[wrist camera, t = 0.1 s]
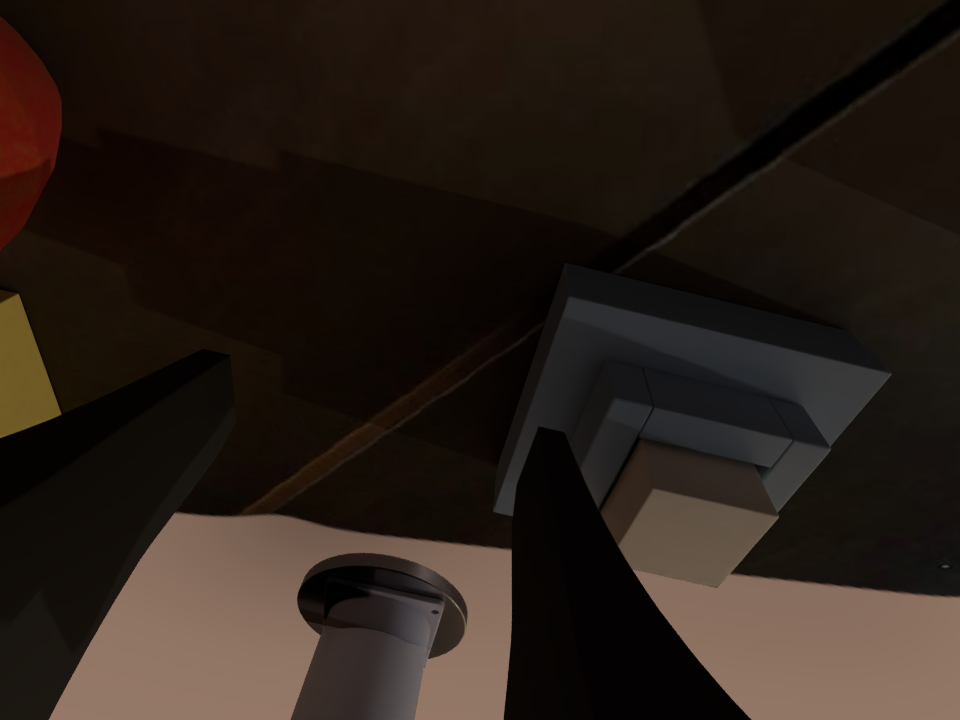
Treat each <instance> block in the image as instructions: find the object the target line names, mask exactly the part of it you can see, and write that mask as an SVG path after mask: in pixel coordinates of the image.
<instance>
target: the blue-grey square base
mask: <svg viewBox="0 0 960 720" xmlns="http://www.w3.org/2000/svg"><path fill="white" fill-rule="evenodd" d="M890 376H891V372H890V371H889V370H888V369H887V368H886V367H885V366H884V365H883V364H882V363H881V362H880V361H879V360H878V359H877V358H876V357H875V356H874V355H873V354H872V353H871V352H870V351H869V350H868V349H867V348H866V347H865V346H864V345H863V344H862V343H861V342H860V341H859V340H858V339H857V338H856V337H855V336H854V335H853V334H852V333H851V332H850V331H846V330H842V329H837V328H833V327H829V326H825V325H821V324H817V323H813V322H809V321H804V320H800V319H796V318H792V317H788V316H784V315H780V314H776V313H771V312H767V311H763V310H759V309H755V308H751V307H747V306H742V305H738V304H734V303H730V302H726V301H722V300H718V299H714V298H709V297H705V296H701V295H697V294H693V293H689V292H685V291H681V290H676V289H672V288H668V287H664V286H660V285H656V284H652V283H647V282H643V281H639V280H635V279H631V278H627V277H623V276H619V275H614V274H610V273H606V272H602V271H598V270H594V269H590V268H585V267H581V266H577V265H573V264H569V263H565V265H564V268H563V271H562V274H561V277H560V280H559V283H558V286H557V289H556V292H555V295H554V298H553V301H552V304H551V307H550V310H549V313H548V316H547V319H546V322H545V325H544V328H543V331H542V334H541V337H540V340H539V343H538V346H537V349H536V352H535V355H534V358H533V361H532V364H531V367H530V370H529V373H528V376H527V379H526V382H525V385H524V388H523V391H522V394H521V397H520V400H519V403H518V406H517V409H516V412H515V415H514V418H513V421H512V424H511V427H510V430H509V433H508V436H507V439H506V442H505V445H504V448H503V451H502V454H501V457H500V460H499V463H498V466H497V474H496V484H495V494H494V504H493V512H497V513H502V514H506V515H511V516H513V510H514V501H515V493H516V485H517V482H518V480H519V477H520V474H521V472H522V469H523V466H524V464H525V461H526V458H527V456H528V453H529V450H530V448H531V445H532V442H533V440H534V437H535V435H536V432H537V429H538V427H539V426H540V427H544V428H549V429H553V430H557V431H562V432H564V433H565V434H566V436H567V438H568V440H569V443H570V446H571V448H572V451H573V453H574V456H575V458H576V461H577V463H578V465H579V468H580V470H581V472H582V475H583V477H584V479H585V481H586V484H587V486H588V488H589V490H590V492H591V494H592V496H593V499H594V501H595V503H596V505H597V507H598V509H599V511H600V513H601V510H602V508H603V506H604V504H605V503H606V501H607V499H608V497H609V495H610V493H611V491H612V490H613V488H614V486H615V484H616V482H617V480H618V479H619V477H620V475H621V473H622V471H623V469H624V468H625V466H626V464H627V462H628V460H629V458H630V457H631V455H632V453H633V451H634V449H635V447H636V446H637V444H638V442H639V440H640V438H644V439H649V440H653V441H657V442H662V443H666V444H671V445H675V446H679V447H684V448H688V449H692V450H697V451H701V452H705V453H710V454H714V455H718V456H723V457H727V458H731V459H736V460H740V461H744V462H749V463H753V464H754V465H755V467H756V469H757V472H758V474H759V476H760V478H761V480H762V482H763V484H764V486H765V488H766V490H767V493H768V495H769V497H770V499H771V501H772V503H773V505H774V507H775V509H776V511H777V512H778V511H779V510H780V509H781V508H782V506H783V505H784V504H785V503H786V502H787V501H788V499H789V498H790V497H791V496H792V495H793V494H794V493H795V491H796V490H797V489H798V488H799V487H800V486H801V484H802V483H803V482H804V481H805V480H806V479H807V477H808V476H809V475H810V474H811V473H812V472H813V470H814V469H815V468H816V467H817V466H818V465H819V463H820V462H821V461H822V460H823V459H824V458H825V456H826V455H827V454H828V453H829V452H830V451H831V447H830V446H831V445H832V444H833V442H834V441H835V440H836V439H837V438H838V436H839V435H840V434H841V433H842V432H843V431H844V429H845V428H846V427H847V426H848V425H849V424H850V422H851V421H852V420H853V419H854V418H855V417H856V415H857V414H858V413H859V412H860V411H861V410H862V408H863V407H864V406H865V405H866V404H867V403H868V401H869V400H870V399H871V398H872V397H873V395H874V394H875V393H876V392H877V391H878V390H879V388H880V387H881V386H882V385H883V384H884V383H885V381H886V380H887V379H888V378H889V377H890Z"/></svg>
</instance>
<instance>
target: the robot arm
mask: <svg viewBox="0 0 960 720" xmlns="http://www.w3.org/2000/svg"><path fill="white" fill-rule="evenodd" d="M235 423H236V416H235V404H234V393H233V382H232V371H231V360H230V355H227V354H223V353H219V352H214V351H210V350H206V349H202V350H200V351H198V352H196V353H193V354H191V355H189V356H187V357H185V358H183V359H181V360H178V361H176V362H174V363H172V364H170V365H168V366H166V367H164V368H162V369H160V370H158V371H156V372H154V373H152V374H150V375H148V376H146V377H143V378H141V379H139V380H137V381H135V382H133V383H131V384H129V385H127V386H125V387H122V388H120V389H118V390H116V391H114V392H112V393H110V394H108V395H105V396H103V397H101V398H98V399H96V400H94V401H92V402H89V403H87V404H85V405H82V406H80V407H78V408H75V409H73V410H71V411H68V412H66V413H64V414H61V415H59V416H57V417H55V418H52V419H50V420H47V421H45V422H42V423H40V424H37V425H34V426H32V427H29V428H26V429H24V430H21V431H18V432H16V433H13V434H10V435H7V436H4V437H2V438H0V720H49V718H50V716H51V714H52V712H53V710H54V708H55V706H56V704H57V702H58V701H59V699H60V697H61V695H62V693H63V691H64V690H65V688H66V686H67V684H68V682H69V680H70V678H71V677H72V675H73V673H74V671H75V669H76V668H77V666H78V664H79V662H80V660H81V658H82V656H83V655H84V653H85V651H86V649H87V647H88V646H89V644H90V642H91V640H92V639H93V637H94V635H95V634H96V632H97V630H98V628H99V627H100V625H101V623H102V622H103V620H104V618H105V616H106V615H107V613H108V611H109V610H110V608H111V606H112V604H113V603H114V601H115V599H116V598H117V596H118V595H119V593H120V591H121V590H122V588H123V586H124V585H125V583H126V582H127V580H128V578H129V577H130V575H131V573H132V572H133V570H134V569H135V567H136V565H137V564H138V562H139V561H140V559H141V558H142V556H143V555H144V553H145V552H146V550H147V549H148V548H149V546H150V545H151V543H152V542H153V541H154V539H155V538H156V536H157V535H158V534H159V533H160V531H161V530H162V529H163V527H164V526H165V525H166V523H167V522H168V521H169V519H170V518H171V517H172V515H173V514H174V513H175V512H176V510H177V509H178V508H179V506H180V505H181V504H182V502H183V501H184V500H185V498H186V497H187V496H188V495H189V493H190V492H191V491H192V489H193V488H194V487H195V485H196V484H197V483H198V481H199V480H200V479H201V477H202V476H203V475H204V473H205V472H206V471H207V469H208V468H209V467H210V465H211V464H212V462H213V461H214V460H215V458H216V456H217V455H218V453H219V451H220V450H221V448H222V446H223V444H224V443H225V441H226V439H227V437H228V435H229V434H230V432H231V430H232V428H233V426H234V424H235ZM443 609H444V602H443V601H442V600H440V599H436V598H431V597H427V596H422V595H417V594H413V593H408V592H403V591H399V590H394V589H389V588H385V587H380V586H375V585H371V584H366V583H362V582H357V581H352V580H348V579H343V578H338V577H329V578H328V579H327V581H326V584H325V599H324V615H323V631H322V633H321V636H320V639H319V642H318V645H317V647H316V650H315V653H314V656H313V659H312V661H311V664H310V667H309V670H308V673H307V675H306V678H305V681H304V684H303V687H302V689H301V692H300V695H299V698H298V700H297V703H296V706H295V709H294V712H293V715H292V718H291V720H414V718H415V712H416V707H417V701H418V696H419V690H420V685H421V679H422V674H423V669H424V668H425V665H426V662H427V659H428V656H429V653H430V650H431V647H432V644H433V641H434V637H435V634H436V631H437V628H438V625H439V622H440V619H441V616H442V612H443ZM504 720H751V719H750V718H749V717H748V716H747V715H746V714H745V713H744V711H743V710H742V709H741V708H740V707H739V706H738V705H737V704H736V703H735V702H734V701H733V700H732V699H731V698H730V696H729V695H728V694H727V693H726V692H725V691H724V690H723V689H722V687H721V686H720V685H719V684H718V683H717V682H716V680H715V679H714V678H713V677H712V676H711V675H710V673H709V672H708V671H707V670H706V669H705V668H704V666H703V665H702V664H701V663H700V662H699V661H698V659H697V658H696V657H695V656H694V654H693V653H692V652H691V651H690V649H689V648H688V647H687V646H686V644H685V643H684V642H683V640H682V639H681V638H680V636H679V635H678V634H677V633H676V631H675V630H674V629H673V627H672V626H671V625H670V623H669V622H668V621H667V620H666V618H665V617H664V616H663V614H662V613H661V612H660V610H659V609H658V607H657V606H656V604H655V603H654V602H653V600H652V599H651V597H650V596H649V594H648V593H647V592H646V590H645V589H644V587H643V585H642V584H641V583H640V581H639V579H638V578H637V576H636V575H635V573H634V572H633V570H632V568H631V567H630V565H629V563H628V562H627V560H626V558H625V557H624V555H623V553H622V552H621V550H620V548H619V546H618V545H617V543H616V541H615V539H614V537H613V536H612V534H611V532H610V530H609V528H608V526H607V525H606V523H605V521H604V519H603V517H602V515H601V513H600V511H599V509H598V507H597V505H596V503H595V501H594V499H593V496H592V494H591V492H590V490H589V488H588V486H587V484H586V481H585V479H584V477H583V475H582V472H581V470H580V468H579V465H578V463H577V461H576V458H575V456H574V453H573V451H572V448H571V446H570V443H569V440H568V438H567V436H566V434H565V433H564V432H562V431H557V430H553V429H549V428H544V427H540V426H539V427H538V429H537V432H536V435H535V437H534V440H533V442H532V445H531V448H530V450H529V453H528V456H527V458H526V461H525V464H524V466H523V469H522V472H521V474H520V477H519V480H518V482H517V485H516V493H515V501H514V510H513V519H512V632H511V648H510V660H509V670H508V681H507V691H506V701H505V711H504Z"/></svg>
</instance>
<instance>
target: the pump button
mask: <svg viewBox="0 0 960 720" xmlns="http://www.w3.org/2000/svg"><path fill="white" fill-rule="evenodd" d="M601 515H602V517H603V519H604V521H605V523H606V525H607V526H608V528H609V530H610V532H611V534H612V536H613V537H614V539H615V541H616V543H617V545H618V546H619V548H620V550H621V552H622V553H623V555H624V557H625V558H626V560H627V562H628V563H629V565H630V567H631V568H632V569H633V570H638V571H642V572H646V573H651V574H656V575H660V576H664V577H669V578H673V579H678V580H683V581H687V582H692V583H696V584H701V585H705V586H710V587H715V588H718V587H719V586H720V584H721V583H722V582H723V581H724V580H725V578H726V577H727V576H728V575H729V574H730V573H731V572H732V571H733V569H734V568H735V567H736V566H737V565H738V564H739V563H740V561H741V560H742V559H743V558H744V557H745V556H746V555H747V553H748V552H749V551H750V550H751V549H752V548H753V546H754V545H755V544H756V543H757V542H758V541H759V540H760V538H761V537H762V536H763V535H764V534H765V533H766V532H767V530H768V529H769V528H770V527H771V526H772V525H773V524H774V522H775V521H776V520H777V519H778V518H779V516H778V513H777V511H776V509H775V507H774V505H773V503H772V501H771V499H770V497H769V495H768V493H767V490H766V488H765V486H764V484H763V482H762V480H761V478H760V476H759V474H758V472H757V469H756V467H755V465H754V464H753V463H749V462H744V461H740V460H736V459H731V458H727V457H723V456H718V455H714V454H710V453H705V452H701V451H697V450H692V449H688V448H684V447H679V446H675V445H671V444H666V443H662V442H657V441H653V440H649V439H644V438H640V440H639V442H638V444H637V446H636V447H635V449H634V451H633V453H632V455H631V457H630V458H629V460H628V462H627V464H626V466H625V468H624V469H623V471H622V473H621V475H620V477H619V479H618V480H617V482H616V484H615V486H614V488H613V490H612V491H611V493H610V495H609V497H608V499H607V501H606V503H605V504H604V506H603V508H602V510H601Z"/></svg>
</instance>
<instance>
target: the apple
mask: <svg viewBox="0 0 960 720" xmlns="http://www.w3.org/2000/svg"><path fill="white" fill-rule="evenodd" d="M61 129H62V101H61V98H60V95H59V91H58V88H57V86H56V84H55V82H54V81H53V79H52V77H51V76H50V74H49V72H48V71H47V69H46V67H45V65H44V64H43V62H42V60H41V59H40V58H39V57H38V55H37V54H36V53H35V52H34V51H33V50H32V48H31V47H30V46H29V45H28V44H27V42H26V41H25V40H24V39H23V38H22V37H21V35H20V34H19V33H18V32H17V31H16V30H15V29H14V28H13V27H12V26H11V25H10V24H8V23H7V22H6V21H5V20H4V19H3V18H2V17H1V16H0V250H1V249H2V248H3V247H4V246H5V245H6V244H7V243H8V242H9V241H10V240H11V239H12V238H13V237H14V236H15V235H16V234H17V233H18V232H19V231H20V230H21V229H22V228H23V227H24V226H25V224H26V222H27V220H28V218H29V216H30V214H31V212H32V210H33V208H34V206H35V204H36V202H37V200H38V198H39V196H40V194H41V192H42V191H43V189H44V187H45V185H46V183H47V181H48V179H49V177H50V175H51V173H52V171H53V169H54V167H55V162H56V156H57V151H58V145H59V140H60V135H61Z"/></svg>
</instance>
